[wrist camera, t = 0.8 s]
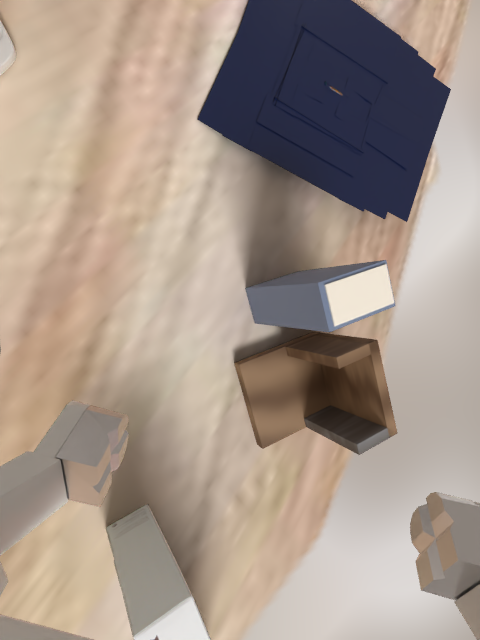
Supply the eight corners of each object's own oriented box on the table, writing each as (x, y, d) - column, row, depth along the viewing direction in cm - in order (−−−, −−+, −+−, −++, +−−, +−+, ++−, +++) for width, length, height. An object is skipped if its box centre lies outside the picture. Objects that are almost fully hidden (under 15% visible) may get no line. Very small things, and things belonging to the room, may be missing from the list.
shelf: (234, 362, 47) (282, 380, 37) (314, 331, 52) (377, 339, 41) (257, 444, 49) (309, 483, 38) (332, 407, 53) (397, 433, 43)
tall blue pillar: (245, 288, 47) (318, 282, 33) (299, 271, 50) (387, 259, 36) (254, 323, 48) (330, 332, 34) (307, 304, 51) (396, 305, 37)
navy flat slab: (389, 238, 55) (407, 233, 51) (192, 133, 46) (198, 117, 43) (439, 88, 57) (460, 73, 54) (261, -38, 49) (272, -65, 45)
